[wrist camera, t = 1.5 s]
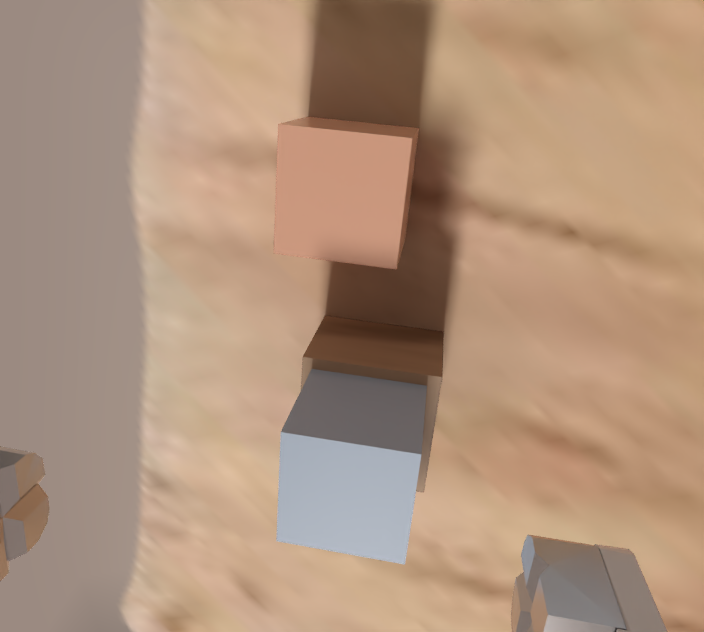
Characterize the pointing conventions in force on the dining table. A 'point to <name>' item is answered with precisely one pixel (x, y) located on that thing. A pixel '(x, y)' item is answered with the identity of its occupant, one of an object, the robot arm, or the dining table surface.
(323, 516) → the tower mid
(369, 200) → the cube
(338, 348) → the tower base
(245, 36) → the dining table surface
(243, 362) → the dining table surface
